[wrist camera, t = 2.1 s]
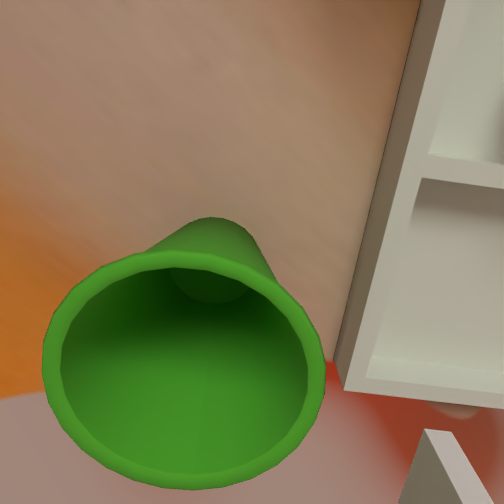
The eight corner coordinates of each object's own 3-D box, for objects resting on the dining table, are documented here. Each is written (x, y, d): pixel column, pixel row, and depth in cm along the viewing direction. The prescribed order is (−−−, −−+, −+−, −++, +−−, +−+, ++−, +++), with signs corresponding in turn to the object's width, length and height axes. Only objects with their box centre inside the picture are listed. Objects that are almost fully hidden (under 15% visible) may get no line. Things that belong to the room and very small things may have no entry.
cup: (295, 178, 22) (333, 248, 11) (293, 328, 25) (321, 491, 14) (125, 181, 22) (8, 254, 11) (144, 331, 25) (66, 494, 15)
